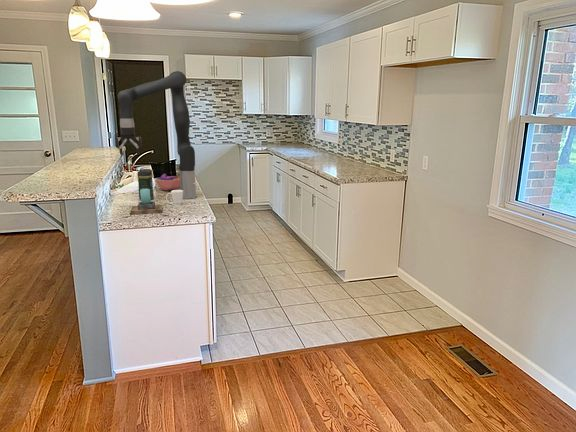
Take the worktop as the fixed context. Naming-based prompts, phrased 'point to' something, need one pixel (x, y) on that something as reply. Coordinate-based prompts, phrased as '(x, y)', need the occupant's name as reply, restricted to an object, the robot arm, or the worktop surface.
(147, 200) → the teal peg
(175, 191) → the cup
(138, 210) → the walnut base
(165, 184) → the cell model
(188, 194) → the robot arm
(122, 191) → the worktop surface
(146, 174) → the coffee jar
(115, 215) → the worktop surface
